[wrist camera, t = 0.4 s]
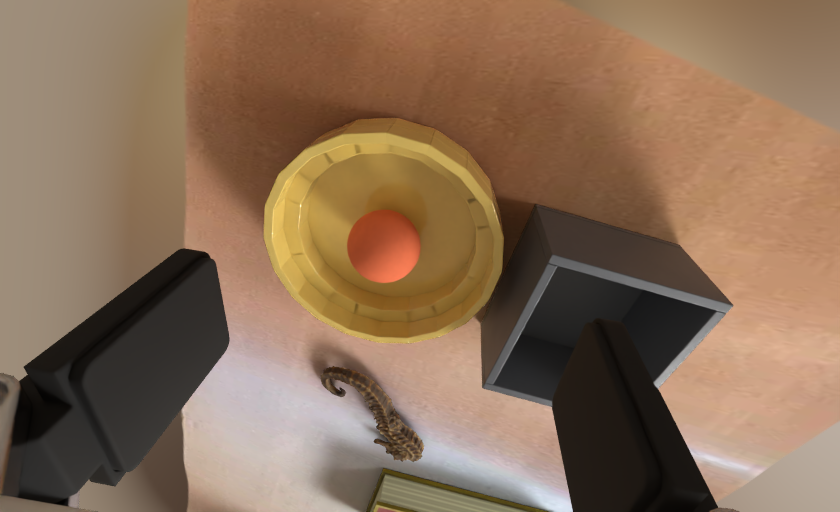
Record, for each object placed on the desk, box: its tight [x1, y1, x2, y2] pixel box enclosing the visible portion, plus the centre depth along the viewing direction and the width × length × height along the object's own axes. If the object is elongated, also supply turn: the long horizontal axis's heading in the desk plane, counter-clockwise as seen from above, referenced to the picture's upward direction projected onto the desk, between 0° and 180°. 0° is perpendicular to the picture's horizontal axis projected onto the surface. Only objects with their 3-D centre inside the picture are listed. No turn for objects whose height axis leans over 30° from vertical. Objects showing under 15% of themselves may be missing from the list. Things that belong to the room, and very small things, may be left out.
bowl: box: [263, 118, 504, 344], centre depth 26 cm, size 15×15×4 cm
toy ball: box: [347, 210, 421, 283], centre depth 26 cm, size 5×5×5 cm
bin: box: [481, 204, 733, 407], centre depth 26 cm, size 11×10×6 cm
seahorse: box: [321, 366, 424, 462], centre depth 38 cm, size 6×15×2 cm, turn 29°
